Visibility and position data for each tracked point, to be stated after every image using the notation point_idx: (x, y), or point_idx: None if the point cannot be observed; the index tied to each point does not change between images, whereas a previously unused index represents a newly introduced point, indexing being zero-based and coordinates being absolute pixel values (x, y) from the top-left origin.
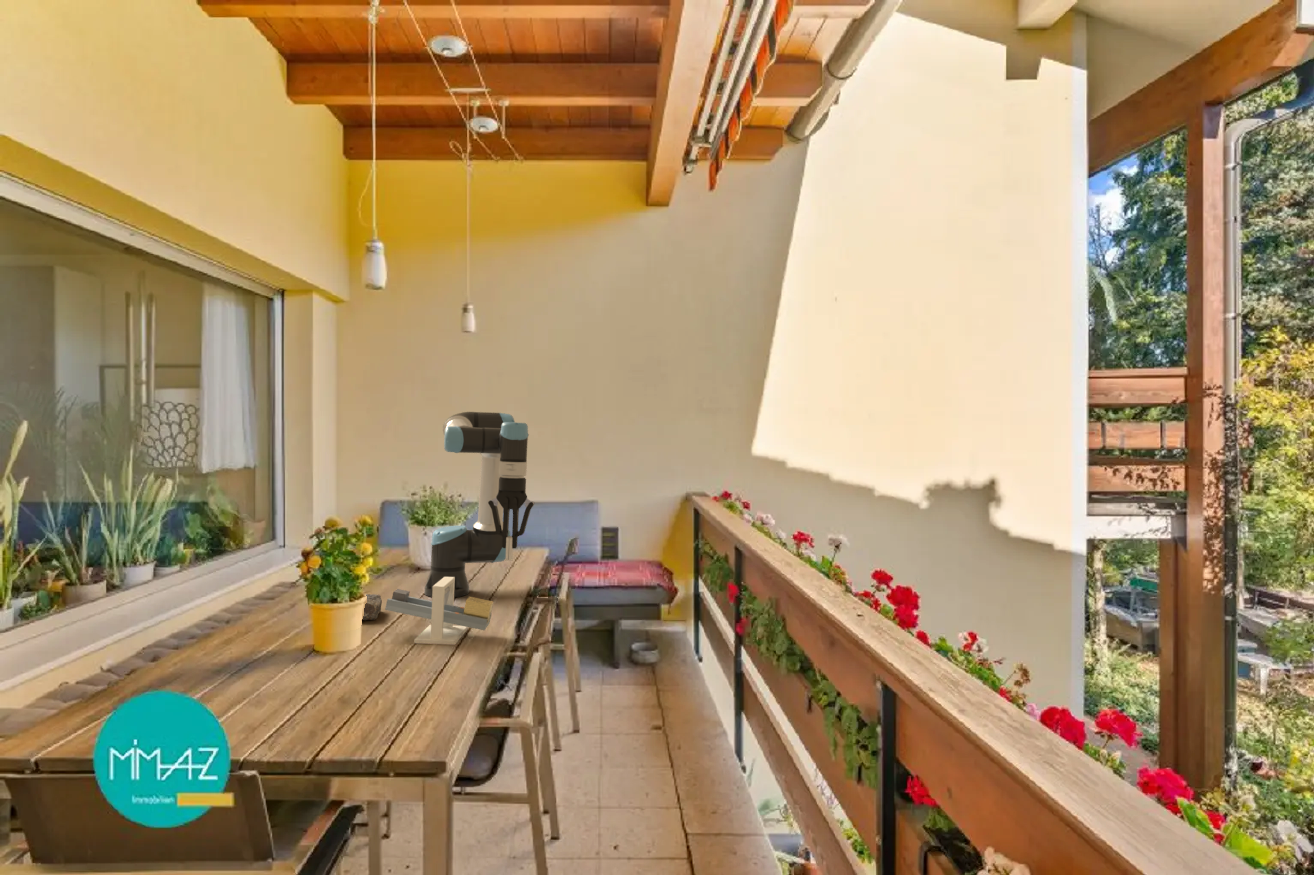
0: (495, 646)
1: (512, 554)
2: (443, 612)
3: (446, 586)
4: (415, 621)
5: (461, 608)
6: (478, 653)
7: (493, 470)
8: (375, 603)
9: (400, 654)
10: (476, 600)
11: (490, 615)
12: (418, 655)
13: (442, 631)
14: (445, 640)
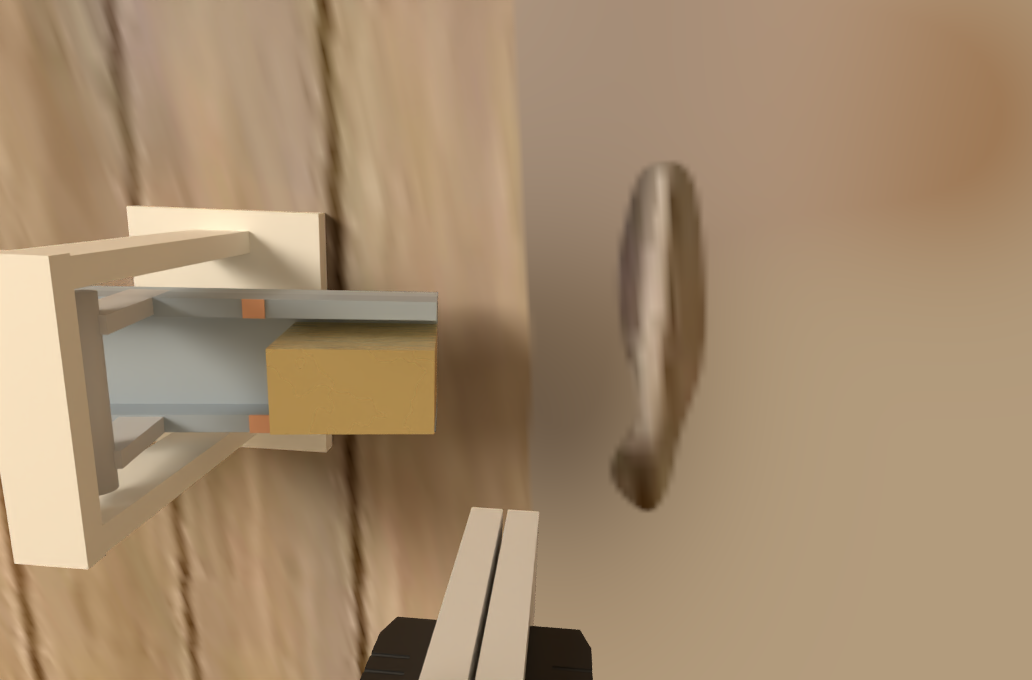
0: (511, 463)
1: (534, 581)
2: (193, 467)
3: (91, 488)
4: (24, 87)
5: (253, 317)
6: (456, 551)
7: None
8: None
9: (162, 565)
10: (330, 402)
11: (436, 330)
12: (232, 575)
13: (244, 434)
14: (282, 448)
